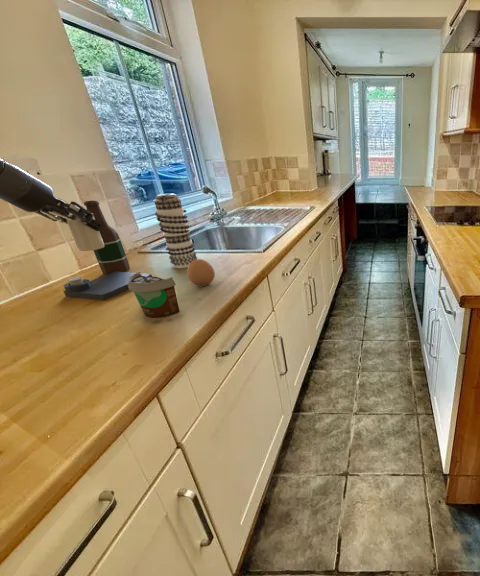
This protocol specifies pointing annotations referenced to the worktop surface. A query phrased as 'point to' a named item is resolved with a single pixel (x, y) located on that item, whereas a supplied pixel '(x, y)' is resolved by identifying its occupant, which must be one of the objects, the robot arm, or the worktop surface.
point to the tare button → (76, 281)
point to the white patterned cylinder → (175, 230)
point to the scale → (101, 286)
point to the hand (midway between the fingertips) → (91, 227)
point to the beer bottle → (108, 244)
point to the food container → (154, 295)
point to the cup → (85, 236)
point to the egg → (200, 272)
